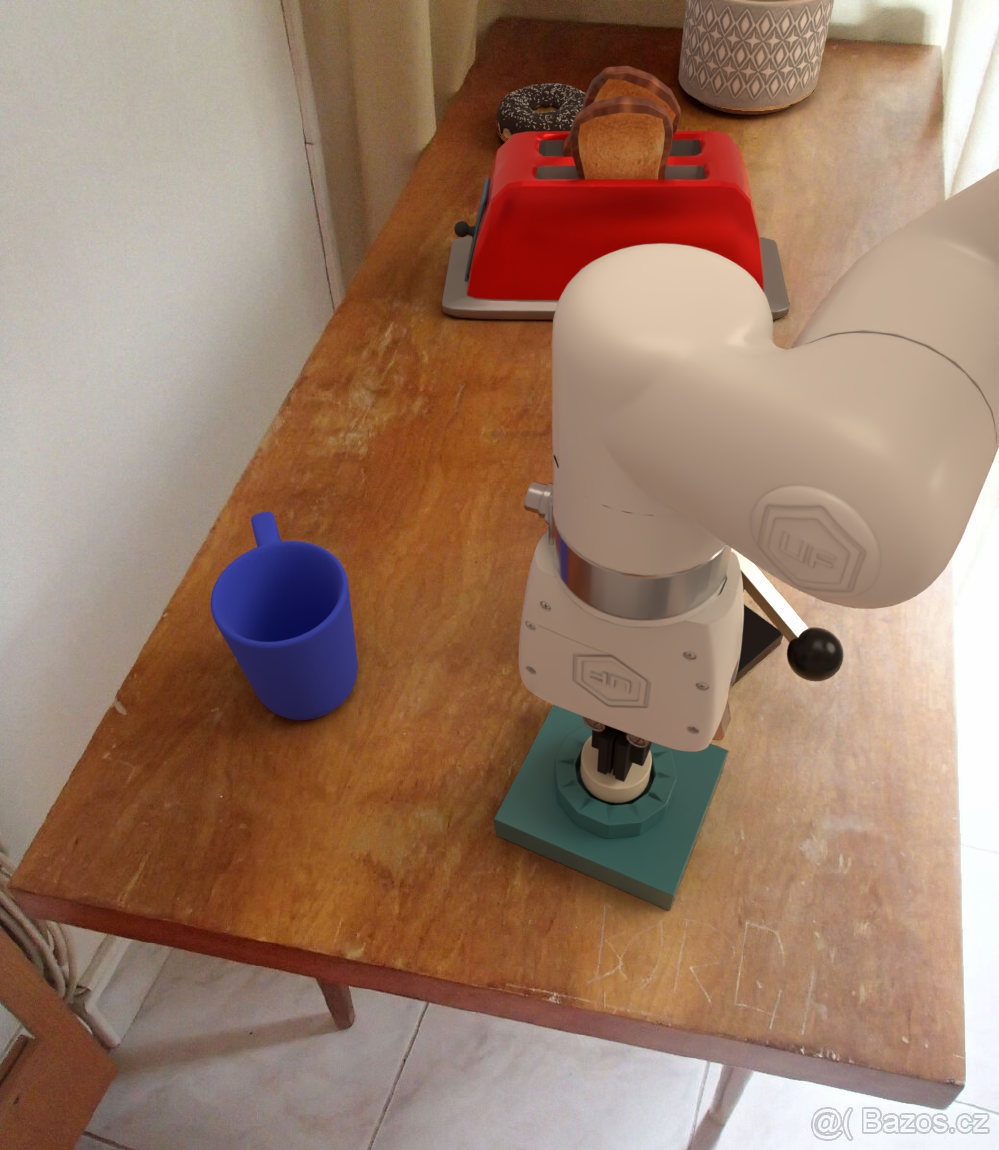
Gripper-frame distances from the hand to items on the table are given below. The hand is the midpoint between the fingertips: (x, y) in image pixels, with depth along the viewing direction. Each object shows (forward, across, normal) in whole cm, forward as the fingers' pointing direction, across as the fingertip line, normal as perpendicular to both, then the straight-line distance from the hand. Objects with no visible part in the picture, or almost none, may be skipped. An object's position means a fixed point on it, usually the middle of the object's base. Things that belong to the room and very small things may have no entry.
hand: (620, 755), depth 56 cm
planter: (+6, -20, +95) cm, 97 cm away
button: (+2, 0, 0) cm, 2 cm away
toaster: (+6, -20, +51) cm, 55 cm away
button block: (+6, 0, 0) cm, 6 cm away
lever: (-2, +3, +12) cm, 13 cm away
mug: (+6, -23, +1) cm, 24 cm away
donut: (+5, -38, +76) cm, 85 cm away
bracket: (+6, 0, +14) cm, 15 cm away
